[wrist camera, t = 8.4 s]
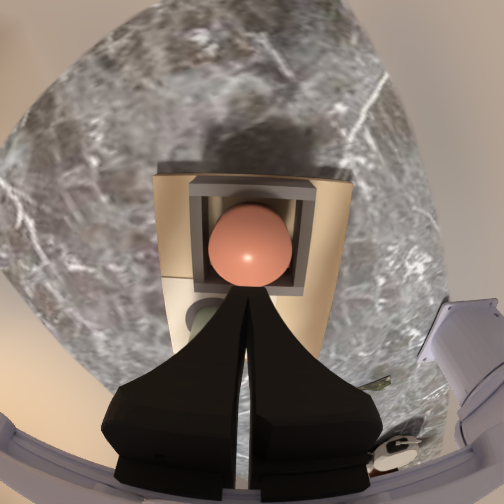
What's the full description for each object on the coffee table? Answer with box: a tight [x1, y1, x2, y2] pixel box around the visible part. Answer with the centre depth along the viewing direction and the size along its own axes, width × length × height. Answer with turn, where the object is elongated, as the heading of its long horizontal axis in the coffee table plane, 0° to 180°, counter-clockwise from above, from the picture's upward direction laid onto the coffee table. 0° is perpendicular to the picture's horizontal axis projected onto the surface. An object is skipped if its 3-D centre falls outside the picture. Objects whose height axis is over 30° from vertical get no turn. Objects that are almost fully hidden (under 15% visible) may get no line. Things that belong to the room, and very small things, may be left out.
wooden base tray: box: [153, 173, 353, 361], centre depth 20 cm, size 13×16×3 cm
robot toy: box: [366, 435, 421, 473], centre depth 35 cm, size 12×4×15 cm
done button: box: [208, 201, 292, 287], centre depth 17 cm, size 5×5×2 cm
